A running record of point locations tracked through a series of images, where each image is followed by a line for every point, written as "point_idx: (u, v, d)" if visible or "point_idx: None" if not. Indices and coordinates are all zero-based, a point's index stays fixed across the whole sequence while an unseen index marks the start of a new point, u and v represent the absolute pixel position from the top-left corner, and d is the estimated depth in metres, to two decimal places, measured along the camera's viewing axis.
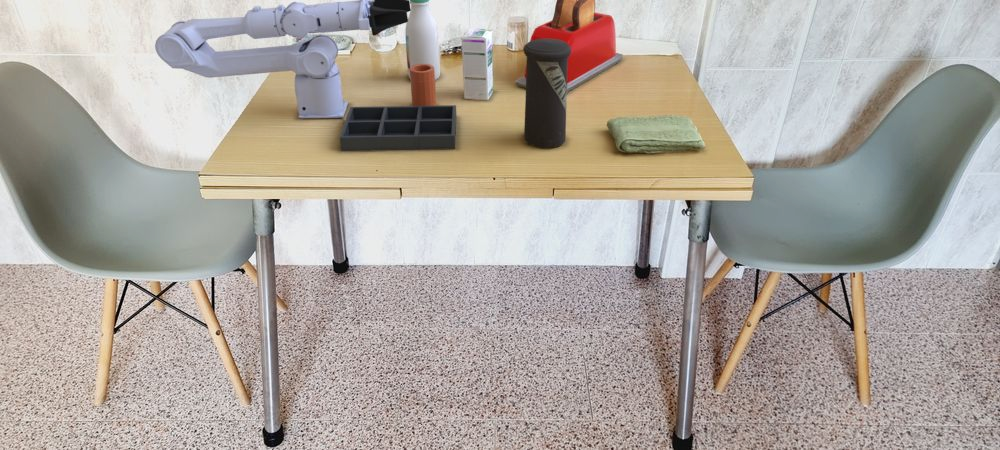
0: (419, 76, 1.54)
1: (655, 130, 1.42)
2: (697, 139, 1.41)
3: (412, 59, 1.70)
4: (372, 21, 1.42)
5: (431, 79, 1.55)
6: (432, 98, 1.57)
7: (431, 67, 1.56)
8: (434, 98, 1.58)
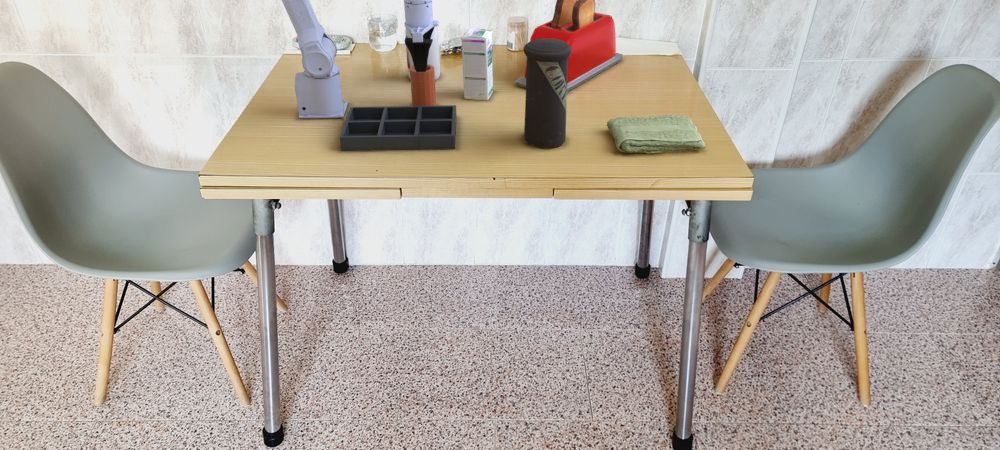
0: (419, 76, 1.54)
1: (655, 130, 1.42)
2: (697, 139, 1.41)
3: None
4: (419, 43, 1.46)
5: (431, 79, 1.55)
6: (432, 98, 1.57)
7: (431, 67, 1.56)
8: (434, 98, 1.58)
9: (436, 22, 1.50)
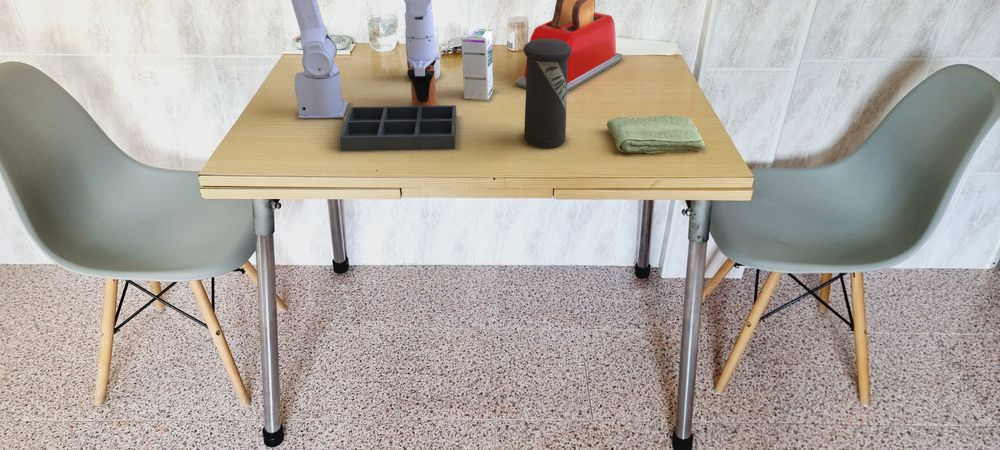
0: None
1: (655, 130, 1.42)
2: (697, 139, 1.41)
3: None
4: None
5: None
6: (432, 98, 1.57)
7: (431, 67, 1.56)
8: (434, 98, 1.58)
9: (438, 55, 1.54)
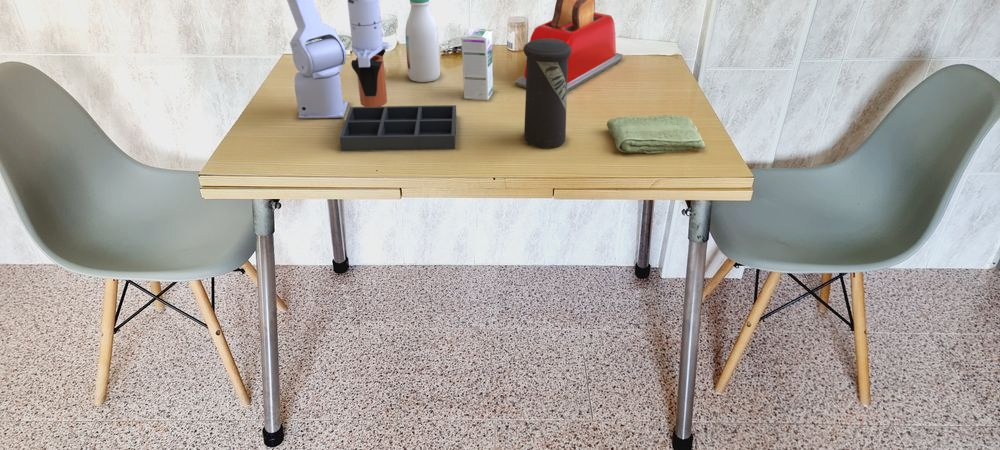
0: None
1: (655, 130, 1.42)
2: (697, 139, 1.41)
3: (412, 59, 1.70)
4: (367, 66, 1.35)
5: (379, 71, 1.39)
6: (381, 92, 1.42)
7: (380, 57, 1.40)
8: (384, 92, 1.42)
9: (386, 44, 1.38)
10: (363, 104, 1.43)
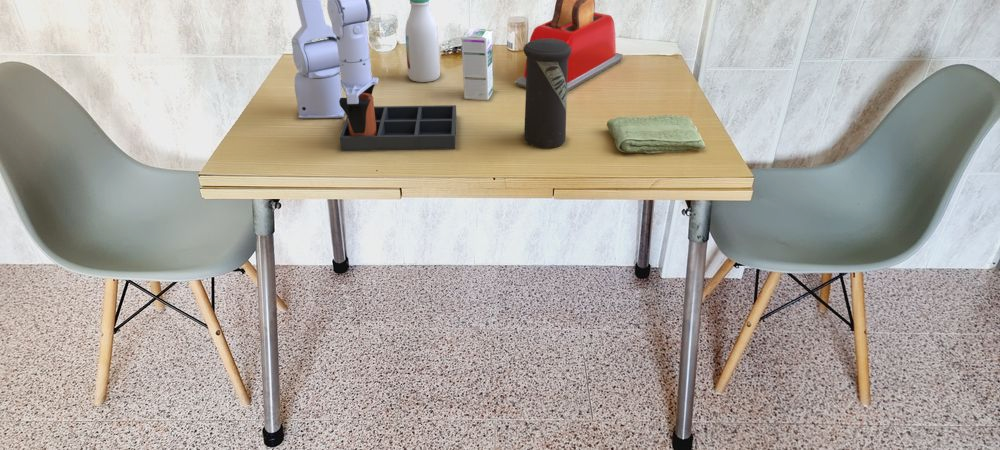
0: None
1: (655, 130, 1.42)
2: (697, 139, 1.41)
3: (412, 59, 1.70)
4: (355, 104, 1.34)
5: (369, 110, 1.40)
6: (371, 130, 1.42)
7: (369, 96, 1.41)
8: (374, 130, 1.43)
9: (375, 80, 1.38)
10: None
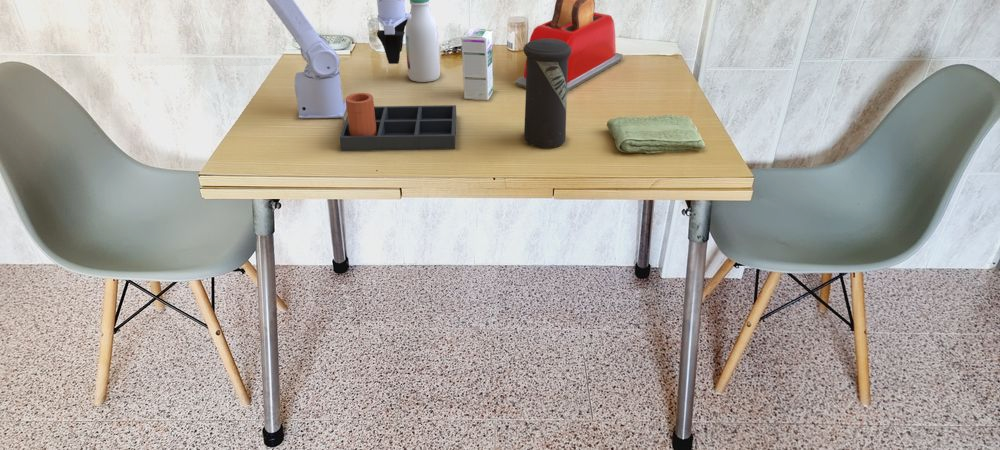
0: (355, 107, 1.39)
1: (655, 130, 1.42)
2: (697, 139, 1.41)
3: (412, 59, 1.70)
4: (391, 36, 1.50)
5: (369, 110, 1.40)
6: (371, 130, 1.42)
7: (369, 96, 1.41)
8: (374, 130, 1.43)
9: (408, 15, 1.53)
10: None
